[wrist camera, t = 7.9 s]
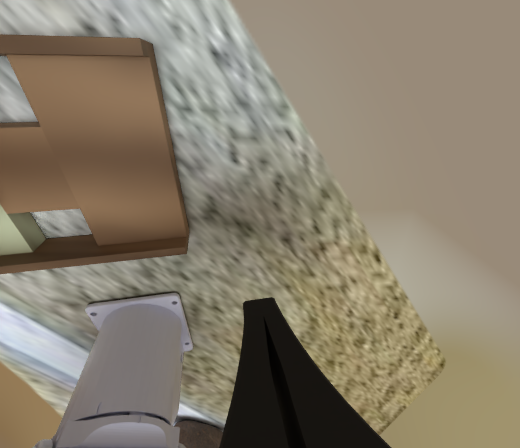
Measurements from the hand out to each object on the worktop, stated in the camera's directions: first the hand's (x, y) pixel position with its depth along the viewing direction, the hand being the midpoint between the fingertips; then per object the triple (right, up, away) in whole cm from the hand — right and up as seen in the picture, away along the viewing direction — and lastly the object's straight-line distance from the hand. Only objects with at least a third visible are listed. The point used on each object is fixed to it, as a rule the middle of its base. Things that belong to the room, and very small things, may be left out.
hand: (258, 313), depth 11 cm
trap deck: (-13, +8, +3) cm, 16 cm away
